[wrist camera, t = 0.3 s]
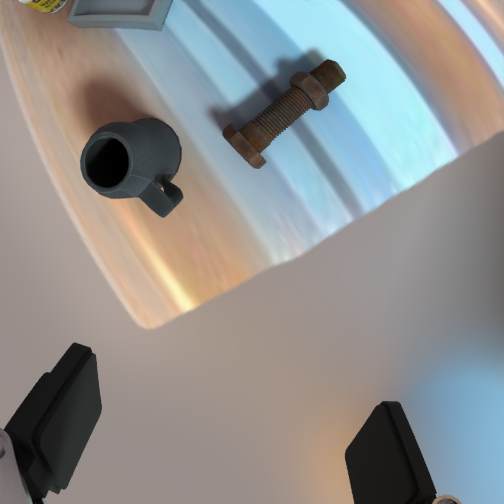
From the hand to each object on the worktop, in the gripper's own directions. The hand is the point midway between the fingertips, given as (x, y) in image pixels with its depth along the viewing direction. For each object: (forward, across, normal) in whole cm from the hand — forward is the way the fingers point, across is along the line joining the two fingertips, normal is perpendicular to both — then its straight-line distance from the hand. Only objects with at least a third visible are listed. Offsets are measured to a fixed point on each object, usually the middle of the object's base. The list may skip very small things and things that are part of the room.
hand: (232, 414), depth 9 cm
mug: (+31, +13, -3) cm, 34 cm away
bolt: (+31, -2, -12) cm, 34 cm away
